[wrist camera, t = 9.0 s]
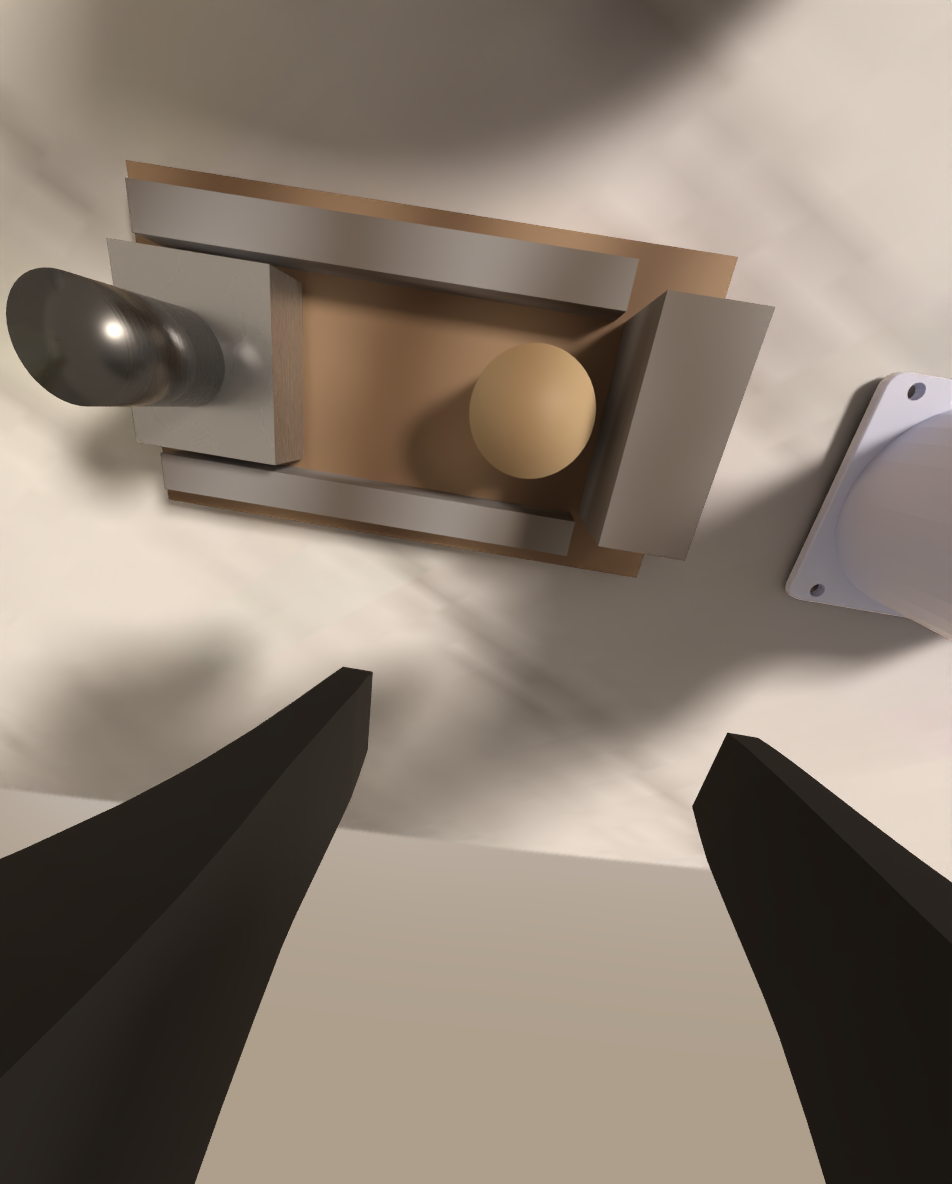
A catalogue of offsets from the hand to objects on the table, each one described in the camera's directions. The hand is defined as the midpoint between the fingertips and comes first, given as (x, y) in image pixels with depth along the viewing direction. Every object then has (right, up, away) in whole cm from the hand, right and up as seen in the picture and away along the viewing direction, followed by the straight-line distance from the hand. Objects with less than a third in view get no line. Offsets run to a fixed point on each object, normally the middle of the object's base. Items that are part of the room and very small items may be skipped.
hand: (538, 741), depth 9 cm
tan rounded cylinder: (0, +9, +6) cm, 11 cm away
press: (-3, +10, +7) cm, 13 cm away
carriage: (-9, +11, +6) cm, 15 cm away
